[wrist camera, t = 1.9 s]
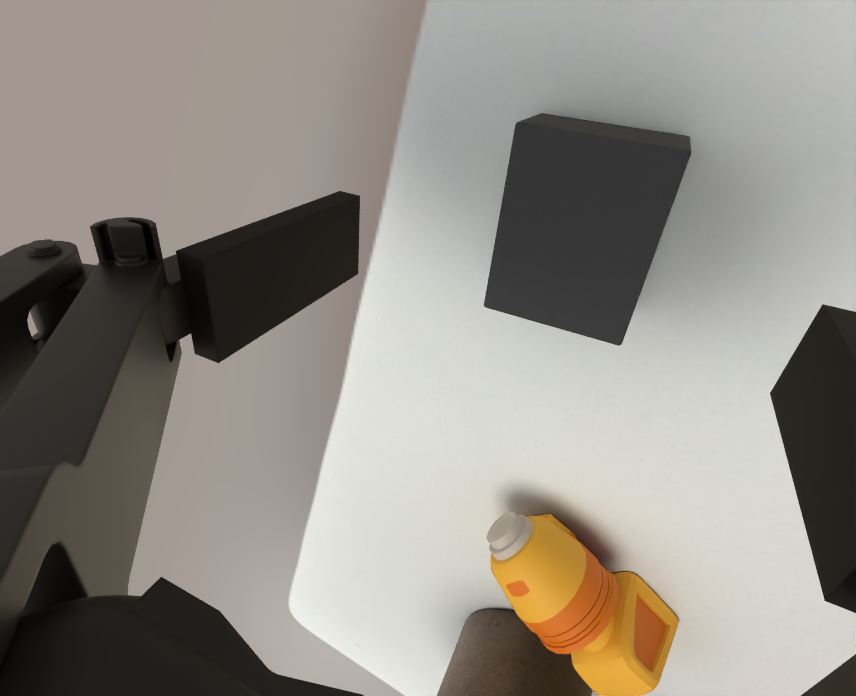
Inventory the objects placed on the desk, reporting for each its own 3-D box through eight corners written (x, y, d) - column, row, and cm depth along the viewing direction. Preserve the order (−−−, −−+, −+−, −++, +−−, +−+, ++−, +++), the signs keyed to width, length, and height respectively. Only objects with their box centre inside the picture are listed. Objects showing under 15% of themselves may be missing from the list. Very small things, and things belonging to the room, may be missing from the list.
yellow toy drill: (483, 505, 31) (609, 638, 31) (449, 577, 26) (597, 730, 27) (548, 474, 27) (688, 624, 28) (522, 551, 23) (688, 726, 24)
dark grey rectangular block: (539, 112, 19) (515, 121, 16) (691, 136, 17) (692, 150, 15) (507, 277, 23) (482, 307, 20) (628, 309, 21) (620, 346, 18)
